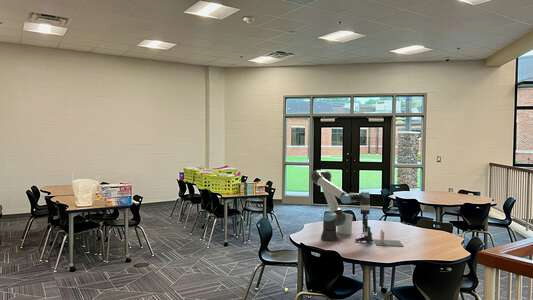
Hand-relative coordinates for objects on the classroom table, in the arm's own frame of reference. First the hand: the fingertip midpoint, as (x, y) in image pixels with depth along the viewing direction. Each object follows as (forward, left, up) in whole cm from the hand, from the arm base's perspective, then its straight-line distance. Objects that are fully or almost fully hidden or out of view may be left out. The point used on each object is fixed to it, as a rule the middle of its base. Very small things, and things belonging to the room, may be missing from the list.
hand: (365, 233), depth 339 cm
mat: (+20, 0, -8) cm, 21 cm away
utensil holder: (-15, +33, -8) cm, 37 cm away
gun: (0, 0, -8) cm, 8 cm away
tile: (+15, 0, -7) cm, 16 cm away
